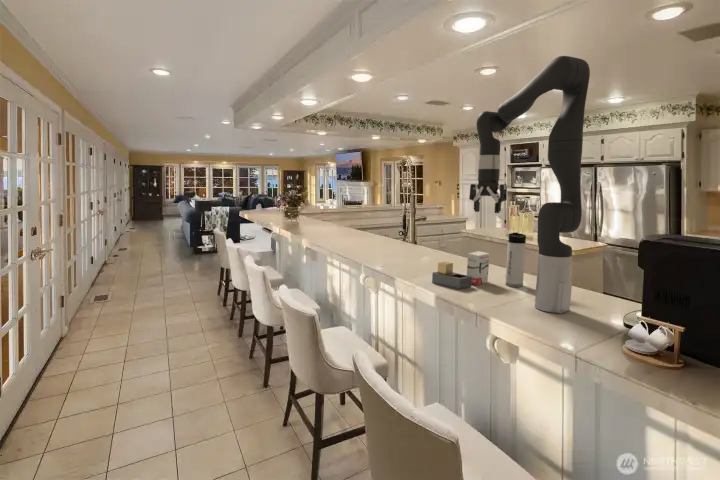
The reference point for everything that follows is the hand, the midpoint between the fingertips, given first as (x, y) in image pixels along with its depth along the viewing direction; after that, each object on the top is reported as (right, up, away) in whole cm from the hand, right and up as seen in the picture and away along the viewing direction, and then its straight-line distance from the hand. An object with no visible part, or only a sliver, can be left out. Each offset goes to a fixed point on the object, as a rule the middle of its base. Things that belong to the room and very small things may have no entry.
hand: (486, 212), depth 153 cm
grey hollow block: (-12, -27, +5) cm, 30 cm away
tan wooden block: (-14, -27, +7) cm, 31 cm away
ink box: (-1, -27, +8) cm, 28 cm away
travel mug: (+12, -28, +5) cm, 31 cm away
